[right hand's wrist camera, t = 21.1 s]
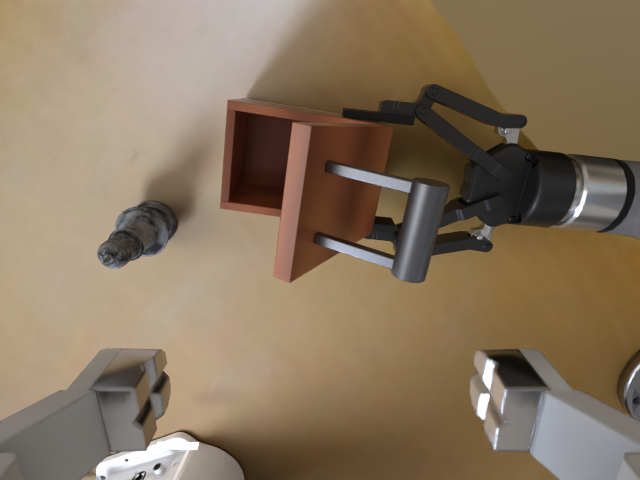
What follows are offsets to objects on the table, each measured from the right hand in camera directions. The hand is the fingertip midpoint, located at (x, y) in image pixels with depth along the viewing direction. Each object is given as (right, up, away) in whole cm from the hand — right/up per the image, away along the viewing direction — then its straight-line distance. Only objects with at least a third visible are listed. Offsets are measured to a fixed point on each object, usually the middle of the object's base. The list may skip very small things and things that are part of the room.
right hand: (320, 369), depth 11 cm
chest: (-2, +13, +35) cm, 37 cm away
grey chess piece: (-20, +6, +38) cm, 43 cm away
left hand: (+2, +10, +29) cm, 31 cm away
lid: (+1, +7, +20) cm, 21 cm away
